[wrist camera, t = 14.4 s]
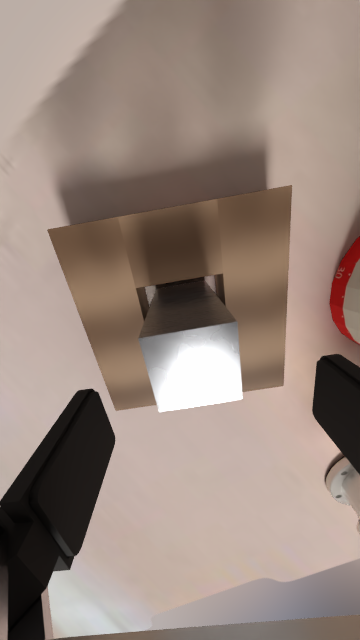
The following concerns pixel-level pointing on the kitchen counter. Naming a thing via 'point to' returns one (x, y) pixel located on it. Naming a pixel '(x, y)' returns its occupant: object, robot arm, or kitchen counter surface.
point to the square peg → (191, 348)
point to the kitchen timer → (347, 294)
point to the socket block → (181, 264)
